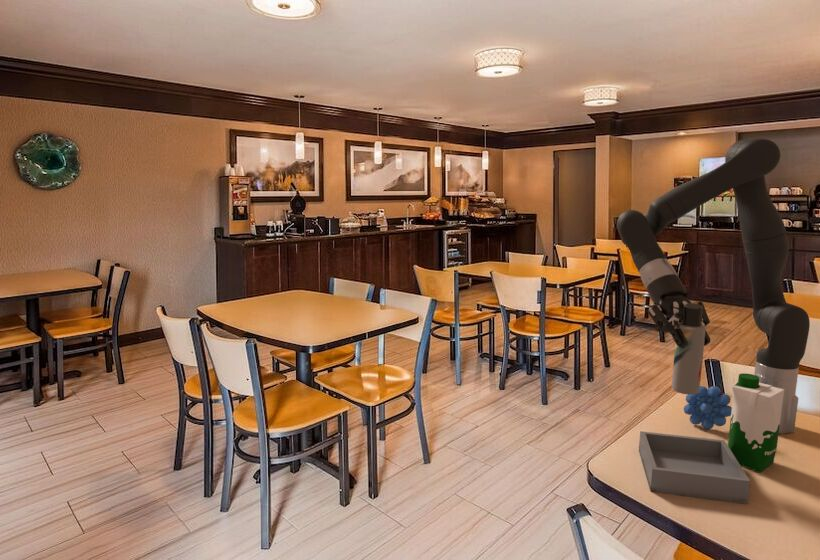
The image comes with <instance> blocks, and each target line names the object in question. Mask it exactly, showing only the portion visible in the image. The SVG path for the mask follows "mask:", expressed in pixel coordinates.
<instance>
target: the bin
mask: <svg viewBox="0 0 820 560" xmlns="http://www.w3.org/2000/svg"><path fill="white" fill-rule="evenodd" d="M638 453H639V457H640V459H641V463H642V466H643V471H644V473H645V477H646V480H647V484H648V487H649V492H654V493H655V492H656V493H661V494H667V495H677V496H683V497H692V498H697V499H698V498H700V499H706V500H713V501H720V502H728V503H736V504H743V505H748V503H749V496H750V487H751V480H750V478H749V477H748V475H747V474H746V472H745V470H744V469H743V466H742V465H740V464H739V463H738V461H737V459H736V458H735V456H734V455H733V453H732V452H731V450H730V448H729V447H728V443H727V442H726V441H725V439H715V438H707V437H698V436H687V435H678V434H669V433H661V432H660V433H659V432H651V431H650V432H649V431H642V430H641V431H639V443H638Z"/></svg>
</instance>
